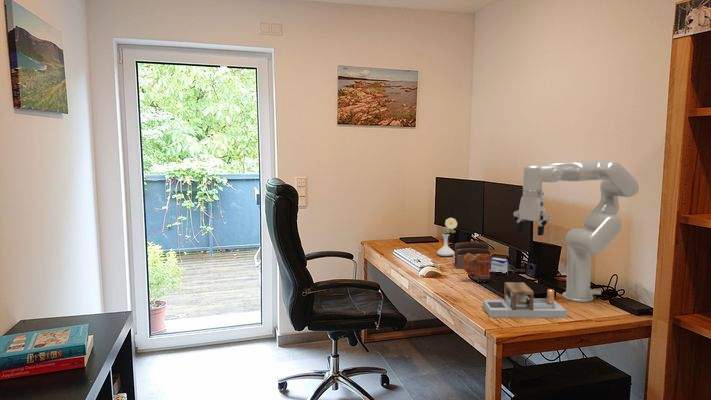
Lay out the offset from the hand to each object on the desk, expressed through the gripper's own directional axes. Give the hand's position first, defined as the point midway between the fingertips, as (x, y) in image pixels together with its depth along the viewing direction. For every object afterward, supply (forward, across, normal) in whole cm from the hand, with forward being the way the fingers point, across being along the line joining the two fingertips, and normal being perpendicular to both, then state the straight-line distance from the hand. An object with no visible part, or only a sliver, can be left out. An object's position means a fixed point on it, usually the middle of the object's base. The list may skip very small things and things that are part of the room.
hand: (530, 233), depth 193 cm
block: (+28, -4, +12) cm, 31 cm away
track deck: (+31, -6, +11) cm, 34 cm away
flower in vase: (+31, +87, -40) cm, 100 cm away
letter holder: (+31, +57, -31) cm, 72 cm away
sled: (+28, -7, +9) cm, 30 cm away
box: (+31, +38, -29) cm, 57 cm away
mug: (+31, +35, -8) cm, 48 cm away
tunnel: (+28, -4, +13) cm, 31 cm away
